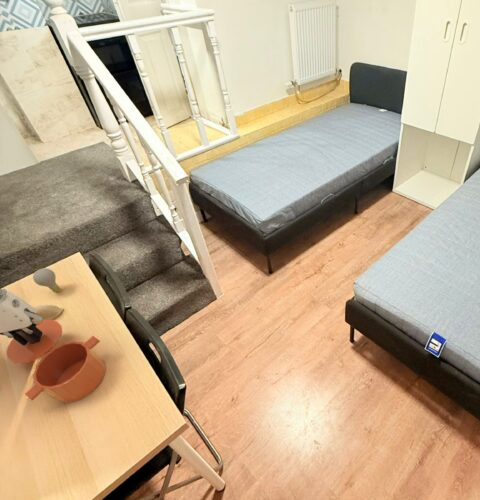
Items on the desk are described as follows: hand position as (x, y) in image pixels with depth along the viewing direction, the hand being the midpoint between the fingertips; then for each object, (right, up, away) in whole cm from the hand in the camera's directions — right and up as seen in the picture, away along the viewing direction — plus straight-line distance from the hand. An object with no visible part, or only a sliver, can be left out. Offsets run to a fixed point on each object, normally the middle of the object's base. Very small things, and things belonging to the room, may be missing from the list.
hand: (33, 338), depth 90 cm
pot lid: (0, -1, +1) cm, 1 cm away
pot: (+13, -10, -1) cm, 17 cm away
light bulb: (-10, +10, +21) cm, 25 cm away
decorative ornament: (-7, +3, +14) cm, 16 cm away
